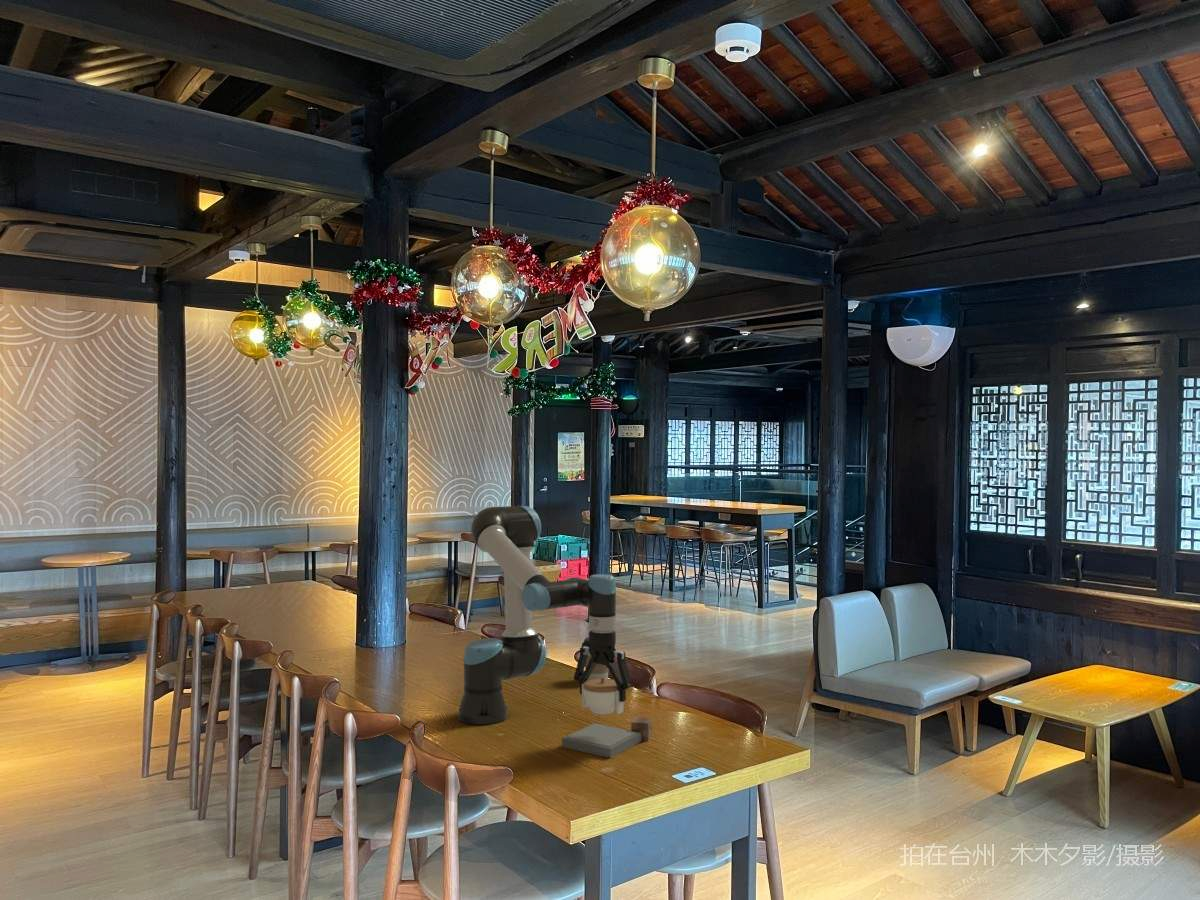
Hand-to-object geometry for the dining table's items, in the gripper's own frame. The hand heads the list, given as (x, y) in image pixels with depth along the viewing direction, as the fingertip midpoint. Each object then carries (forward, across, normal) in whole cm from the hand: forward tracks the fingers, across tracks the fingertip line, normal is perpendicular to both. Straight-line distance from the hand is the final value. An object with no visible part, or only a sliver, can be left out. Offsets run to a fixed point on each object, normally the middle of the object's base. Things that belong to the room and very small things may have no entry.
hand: (602, 709), depth 235 cm
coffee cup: (+10, -39, +56) cm, 69 cm away
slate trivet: (+10, 0, 0) cm, 10 cm away
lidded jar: (+1, 0, 0) cm, 1 cm away
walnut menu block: (+10, +6, +11) cm, 16 cm away
